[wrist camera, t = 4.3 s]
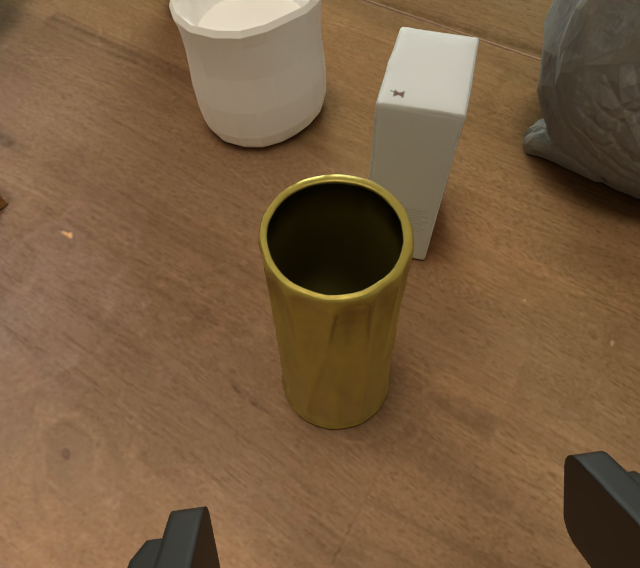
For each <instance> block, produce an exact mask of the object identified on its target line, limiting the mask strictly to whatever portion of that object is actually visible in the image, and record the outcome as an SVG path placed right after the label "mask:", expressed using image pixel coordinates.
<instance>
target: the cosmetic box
mask: <svg viewBox="0 0 640 568" xmlns="http://www.w3.org/2000/svg"><path fill="white" fill-rule="evenodd" d="M478 45H479V39H478V38H474V37H467V36H461V35H453V34H446V33H439V32H433V31H426V30H420V29H414V28H407V27H402V28H401V29H400V31H399V34H398V37H397V40H396V43H395V46H394V49H393V52H392V55H391V57H390V59H389V62H388V65H387V70H386V73H385V76H384V79H383V82H382V86H381V89H380V92H379V96H378V99H377V103H376V109H375V118H374V127H373V139H372V151H371V162H370V174H369V180H371V181H373V182H375V183H377V184H378V185H380V186H382V187H383V188H385V189H386V190H388V191H389V192H390V193H391V194H392V195H393V196H394V197H395V198H396V199H397V200H398V201H399V202H400V203H401V205H402V206H403V207H404V209H405V211H406V213H407V215H408V217H409V220H410V223H411V226H412V229H413V235H414V252H413V257H412V258H416V259H422V260H423V259H425V257H426V253H427V250H428V246H429V243H430V239H431V236H432V232H433V229H434V225H435V222H436V218H437V215H438V211H439V208H440V205H441V201H442V197H443V194H444V190H445V187H446V183H447V180H448V176H449V173H450V169H451V166H452V162H453V159H454V155H455V152H456V149H457V145H458V142H459V138H460V134H461V131H462V127H463V124H464V120H465V117H466V113H467V108H468V104H469V100H470V94H471V88H472V81H473V74H474V68H475V62H476V55H477V50H478Z"/></svg>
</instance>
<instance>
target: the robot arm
mask: <svg viewBox="0 0 640 568" xmlns="http://www.w3.org/2000/svg"><path fill="white" fill-rule="evenodd" d="M564 520H565V524H566V528H567V531H568V533H569V536H570V538H571V540H572V542H573V543H574V545H575V546H576V548H577V549H578V550H579V552H580V553H581V554H582V556H583V557H584V558H585V560H586V561H587V563H588V564H589V565H590V567H591V568H640V474H639V473H637V472H635V471H631V472H627V471H626V470H625V469H623V468H622V467H621V466H620V465H619V464H618V463H617V462H616V461H615V460H614V459H613V458H612V457H611V456H610V455H608V454H607V453H606V452H604V451H597V452H590V453H583V454H576V455H569V456H567V458H566V460H565V465H564ZM128 568H220V564H219V559H218V554H217V549H216V544H215V539H214V534H213V529H212V524H211V519H210V514H209V511H208V508H207V507H206V506H205V507H198V508H191V509H184V510H177V511H172V512H171V513H170V515H169V518H168V522H167V525H166V528H165V531H164V535H163V538H161V539H154V540H147V541H146V542H145V543H144V545H143V546H142V547H141V548H140V549H139V551H138V552H137V553H136V554H135V556H134V557H133V558H132V559H131V560H130V562H129V565H128Z"/></svg>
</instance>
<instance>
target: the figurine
mask: <svg viewBox="0 0 640 568" xmlns="http://www.w3.org/2000/svg"><path fill="white" fill-rule="evenodd" d="M537 92H538V97H539V101H540V105H541V110H542V114H543V118H544V119H540V120H537V121H536V122H535V123H534V124H533V126H531V127H529V128H528V129H527V131H526V132H525V134H524V143H523V147H524V149H525V151H526V153H528V154H531V155H535V156H539V157H542V158H545V159H547V160H549V161H552V162H554V163H556V164H558V165H560V166H562V167H564V168H566V169H568V170H571V171H573V172H575V173H577V174H579V175H581V176H584V177H586V178H588V179H590V180H592V181H594V182H602V183H604V184H606V185H608V186H610V187H611V188H613V189H615V190H618V191H620V192H623V193H626V194H628V195H630V196H632V197H635V198H638V199H640V0H554V1H553V3H552V5H551V7H550V9H549V11H548V13H547V16H546V19H545V22H544V27H543V50H542V59H541V68H540V77H539V82H538V89H537Z"/></svg>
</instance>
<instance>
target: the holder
mask: <svg viewBox="0 0 640 568" xmlns="http://www.w3.org/2000/svg"><path fill="white" fill-rule="evenodd" d="M7 204H8V203H7V202H6V201H5V200H4V199H3V198H2V196H1V195H0V209H2V208H3V207H4V206H6V205H7Z"/></svg>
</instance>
